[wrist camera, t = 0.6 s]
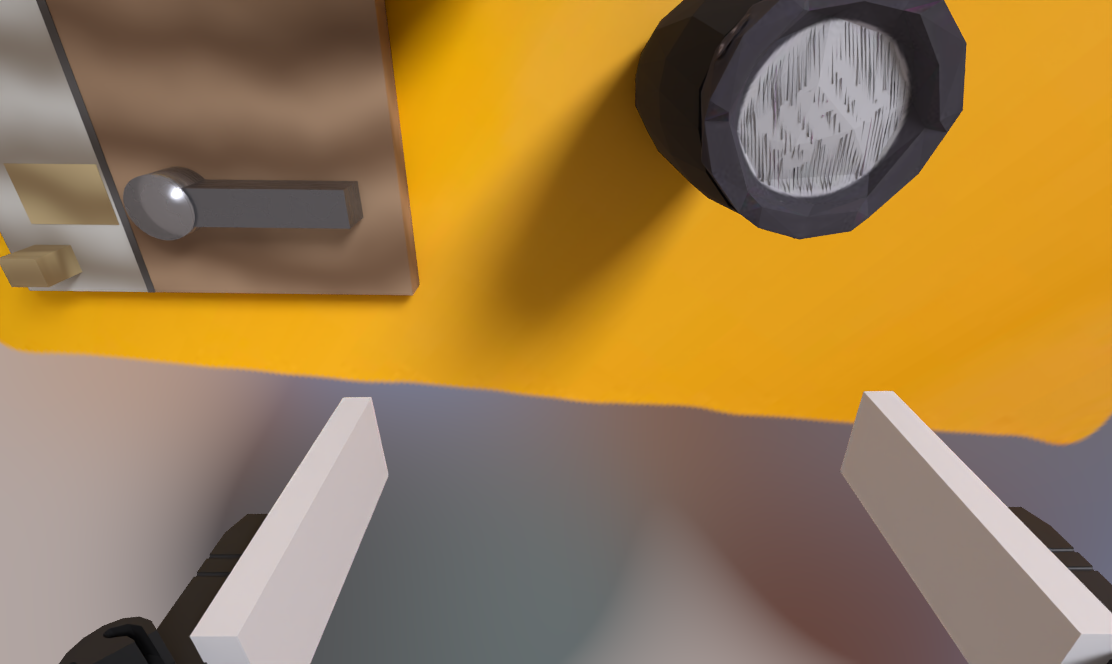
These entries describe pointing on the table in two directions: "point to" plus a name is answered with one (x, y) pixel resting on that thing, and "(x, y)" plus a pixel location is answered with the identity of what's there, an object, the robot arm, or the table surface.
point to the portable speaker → (801, 103)
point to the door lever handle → (236, 203)
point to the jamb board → (198, 141)
